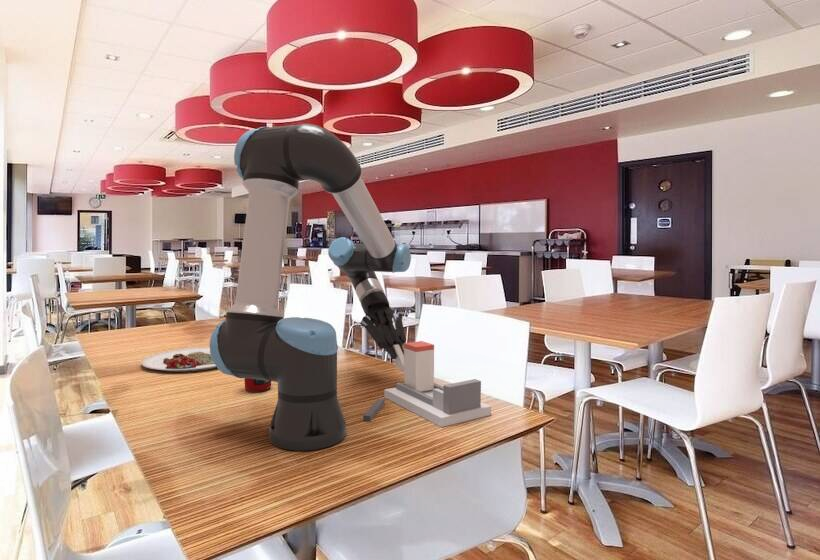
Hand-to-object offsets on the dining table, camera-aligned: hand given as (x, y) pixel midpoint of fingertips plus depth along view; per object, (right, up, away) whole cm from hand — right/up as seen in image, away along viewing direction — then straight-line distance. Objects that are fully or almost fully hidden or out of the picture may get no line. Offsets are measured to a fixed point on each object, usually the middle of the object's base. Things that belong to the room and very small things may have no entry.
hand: (403, 367), depth 132 cm
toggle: (+4, -4, -6) cm, 8 cm away
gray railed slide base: (+8, -7, -11) cm, 15 cm away
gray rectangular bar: (-7, -8, -16) cm, 19 cm away
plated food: (-68, -4, +30) cm, 74 cm away
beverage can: (-38, -6, +1) cm, 39 cm away
